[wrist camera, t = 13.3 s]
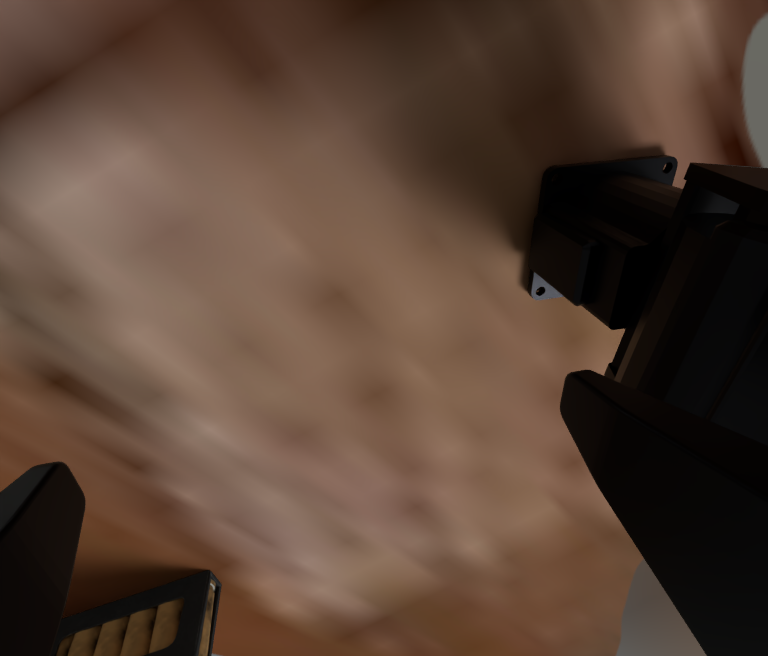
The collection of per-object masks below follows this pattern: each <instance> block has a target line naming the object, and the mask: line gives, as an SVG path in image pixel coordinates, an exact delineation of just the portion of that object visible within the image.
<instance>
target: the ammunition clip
mask: <svg viewBox="0 0 768 656" xmlns="http://www.w3.org/2000/svg"><path fill="white" fill-rule="evenodd" d="M221 585H222V584H221V583H220V582H219V581H218V579H217V578H216V577H215V576H214V574H213V573H212V572H211V571H209V570H207V571H204V572H201V573H198V574H195V575H192V576H189V577H186V578H183V579H180V580H177V581H174V582H171V583H168V584H165V585H162V586H159V587H156V588H153V589H150V590H147V591H144V592H141V593H138V594H135V595H132V596H129V597H126V598H123V599H120V600H117V601H114V602H111V603H108V604H105V605H102V606H99V607H96V608H93V609H90V610H87V611H84V612H81V613H78V614H75V615H72V616H69V617H66V618H63V619H61V622H60V625H59V628H58V631H57V635H56V638H55V641H54V644H53V648H52V651H51V654H50V656H211V654H212V647H213V640H214V633H215V626H216V620H217V613H218V606H219V599H220V592H221Z"/></svg>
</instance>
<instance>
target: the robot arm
mask: <svg viewBox="0 0 768 656" xmlns="http://www.w3.org/2000/svg"><path fill="white" fill-rule="evenodd" d="M665 164H666V167H665V169H664V170H663V167H664V165H665ZM677 164H678V162H677V159H676V158H675V157H671V156H667V155H660V156H649V157H639V158H629V159H618V160H608V161H598V162H587V163H577V164H566V165H556V166H552V167H549V168H548V169H547V170H546V171H545V173H544V174H543V178H542V184H541V192H540V199H539V207H538V214H537V216H536V217H535V219H534V226H533V234H532V241H531V249H530V257H529V268H530V275H529V283H528V293H529V295H530V296H531V297H532V298H533V299H535V300H543V299H550V298H557V297H565V298H566V299H568V300H569V301H570V302H571V303H572V304H574V305H575V306H580V305H581V306H583V307H584V308H585V309H586V310H588V311H589V312H590V313H591V314H593V315H594V316H595V317H596V318H597V319H599V320H600V321H601V322H602V323H604V324H605V325H606V326H607V327H609V328H610V329H611V330H616V329H623V328H624V329H625V332H624V335H623V337H622V339H621V342H620V344H619V347H618V349H617V352H616V354H615V357H614V359H613V361H612V363H609V364H608V367H607V369H606V371H605V374H604V375H605V376H603V375H601V374H598V373H596V372H594V371H591V370H581V371H576V372H571V373H569V374H568V375H567V376H566V378H565V382H564V387H563V392H562V397H561V402H560V412H561V415H562V418H563V420H564V422H565V424H566V426H567V428H568V430H569V432H570V434H571V436H572V438H573V440H574V442H575V444H576V446H577V447H578V449H579V451H580V453H581V455H582V457H583V459H584V461H585V463H586V465H587V467H588V469H589V471H590V473H591V475H592V477H593V479H594V480H595V482H596V484H597V486H598V487H599V489H600V491H601V492H602V494H603V495H604V497H605V499H606V500H607V502H608V503H609V505H610V506H611V508H612V509H613V511H614V513H615V514H616V516H617V517H618V519H619V520H620V522H621V523H622V525H623V526H624V528H625V530H626V531H627V533H628V534H629V536H630V537H631V539H632V540H633V542H634V544H635V545H636V547H637V548H638V550H639V551H640V553H641V554H642V556H643V557H644V559H645V561H646V562H647V564H648V565H649V567H650V568H651V569H652V571H653V573H654V575H655V576H656V578H657V579H658V581H659V582H660V584H661V585H662V587H663V588H664V590H665V591H666V593H667V595H668V596H669V598H670V599H671V601H672V602H673V604H674V605H675V607H676V609H677V610H678V612H679V613H680V615H681V616H682V618H683V619H684V621H685V623H686V624H687V626H688V627H689V629H690V630H691V632H692V633H693V635H694V636H695V638H696V639H697V641H698V643H699V644H700V646H701V647H702V649H703V650H704V652H705V654H706V655H707V656H768V168H759V167H745V166H732V165H718V164H705V163H690V165H689V167H688V169H687V172H686V174H685V177H684V179H685V180H687V181H686V183H685V186H684V188H683V189H680V188H677V187H674V186H672V184H673V180H674V177H675V173H676V170H677ZM555 174H558V178H557V180H556V181H555V182H554V183H552V178H553V176H554V175H555ZM539 287H541V290H540V291H539V292H536V290H537V289H538V288H539ZM84 512H85V496H84V493H83V491H82V490H81V488H80V486H79V484H78V483H77V481H76V479H75V477H74V476H73V474H72V472H71V471H70V469H69V467H68V466H67V465H66V464H65V463H63V462H52V463H46V464H41V465H37V466H34V467H32V468H30V469H29V470H28V471H26V472H25V473H24V474H23V475H21V476H20V477H19V478H18V479H16V480H15V481H14V482H13V483H11V484H10V485H9V486H8V487H6V488H5V489H4V490H3V491H1V492H0V656H50V654H51V651H52V648H53V644H54V641H55V638H56V635H57V631H58V628H59V625H60V622H61V619H62V615H63V612H64V608H65V605H66V601H67V597H68V593H69V588H70V584H71V579H72V573H73V568H74V563H75V558H76V553H77V548H78V543H79V537H80V532H81V527H82V522H83V517H84Z"/></svg>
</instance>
